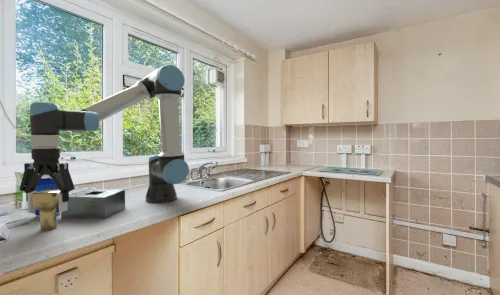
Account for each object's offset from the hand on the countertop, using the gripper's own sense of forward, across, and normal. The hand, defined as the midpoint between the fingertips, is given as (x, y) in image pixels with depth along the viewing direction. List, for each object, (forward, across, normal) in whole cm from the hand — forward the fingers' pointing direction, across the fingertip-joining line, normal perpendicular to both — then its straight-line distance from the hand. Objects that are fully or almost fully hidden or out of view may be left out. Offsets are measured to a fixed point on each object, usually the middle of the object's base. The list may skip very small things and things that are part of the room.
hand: (48, 210), depth 83 cm
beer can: (+7, +13, -14) cm, 20 cm away
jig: (+6, -4, -18) cm, 19 cm away
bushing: (+6, 0, 0) cm, 6 cm away
